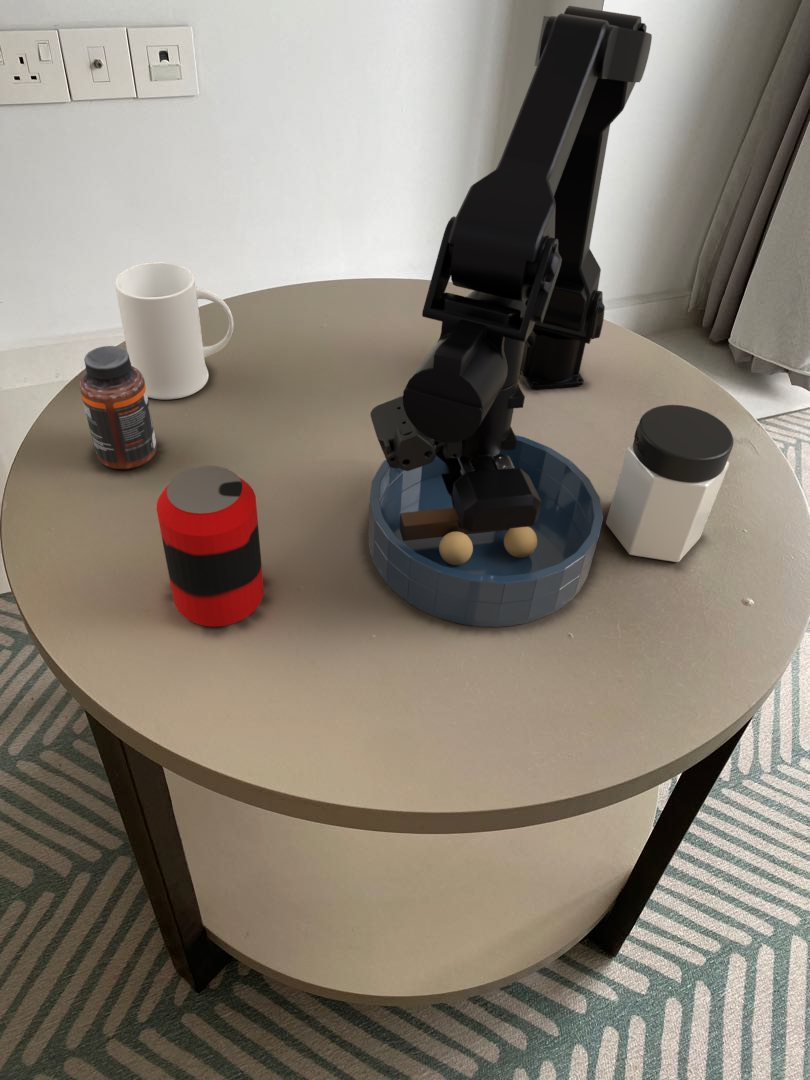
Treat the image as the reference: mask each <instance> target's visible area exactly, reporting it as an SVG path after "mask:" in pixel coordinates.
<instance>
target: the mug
mask: <svg viewBox="0 0 810 1080" xmlns="http://www.w3.org/2000/svg"><path fill="white" fill-rule="evenodd" d="M114 289H115V294H116V299H117V304H118V310H119V314H120V320H121V325H122V330H123V336H124V342H125V347H126V351H127V352H128V354H129V359H130V362H131V366H133V367H135V368H136V369H138V370H139V371H140V372H141V374H142V375H143V378H144V381H145V386H146V391H147V396H148V399H149V398H150V399H154V400H161V401H162V400H164V401H165V400H177V399H183V398H186V397H189V396H191V395H194V394H195V393H197V392H199V391H201V390H202V389H203V388H204V387H205V386H206V384H207V383H208V381H209V378H210V377H209V374H210V373H209V370H208V368H207V365H206V358H207V357H210V356H212V355H213V356H214V355H215V354H217V353H219V352H220V351H221V350H224V348H225V347H226V346H227V345H228V343H229V342H230V340H231V338H232V336H233V333H234V327H235V325H234V317H233V314H232V311H231V309H230V307H229V306H228V304H227V303H226V302H225V301H224V300H223V299H222V298H221V297H220V296H218V294H216V293H214V292H212V291H210V290H207V289H204V288H201V287H198V286H197V285H196V278H195V275H194V273H193V272H192V271H191V270H190V269H189V268H187V267H185V266H182V265H180V264H177V263H171V262H162V261H161V262H160V261H157V262H156V261H154V262H146V263H145V262H144V263H140V264H136V265H133V266H132V265H131V266H130V267H128V268H126V269H124V270H122V271H120V272H119V274H117V275H116V276H115V279H114ZM198 300H207V301H210V302H213V303H215V304H216V305H218V306H219V307H220V308H221V309H222V310H223V311H224V313H225V314H226V316H227V319H228V329H227V332H226V334H225V336H224V337H223V338H222V339H221V340H220V341H219V342H216V343H215V344H213V345H208V346H207V345H205V346H204V344H203V336H202V327H201V320H200V311H199V302H198Z"/></svg>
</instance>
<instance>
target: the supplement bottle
mask: <svg viewBox="0 0 810 1080" xmlns="http://www.w3.org/2000/svg"><path fill="white" fill-rule="evenodd" d="M83 360H84V366H85V373H84V374H83V375H82V376H81V379H80V382H79V390H80V391H79V392H80V395H81V400H82V404H83V409H84V411H85V416H86V419H87V423H88V428H89V432H90V436H91V439H92V444H93V447H94V452H95V454H96V457H97V459H98V461H99V462H100V463H101V464H102V465H104V466H105V467H108V468H111V469H115V470H130V469H131V470H132V469H136V468H138V467H140V466H143V465H145V464H147V463H148V462H150V461H151V460H152V459H153V457H154V456H155V454H156V452H157V448H158V447H157V439H156V435H155V429H154V424H153V423H154V422H153V418H152V413H151V412H152V411H151V407H150V402H149V401H150V400H149V397H148V396H147V391H146V386H145V381H144V378H143V375H142V374H141V372H140V371H139V370H138V369H136V368H135V367H133V366H131V362H130V359H129V354H128V352H127V349H126V348H123V347H120V346H116V345H104V346H99V347H95V348H94V349H91V350H89V351H88V352H87V353H86V354H85V356H84V359H83Z"/></svg>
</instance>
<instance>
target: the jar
mask: <svg viewBox="0 0 810 1080" xmlns="http://www.w3.org/2000/svg"><path fill="white" fill-rule="evenodd" d="M633 437H634V439H633V442H632V443H631V444H630V445H628V447H627V448H626V451H625V454H624V457H623V461H622V465H621V467H620V472H619V475H618V479H617V482H616V485H615V490H614V492H613V497H612V500H611V503H610V506H609V510H608V513H607V517H606V520H605V525H606V526H607V527H608V529H609V530H610V531H611V533H612V534H613V535H614V536H615V538H616V539H617V540H618V542H619V543H620V544H621V546H622V547H623V549H624V550H625V551H626V553H627V554H628V555H630V556H634V557H643V558H648V559H654V560H660V561H666V562H671V563H679V562H680V561H681V560H682V559H683V558H684V557H685V555H687V553H688V552H689V551H690V550H691V549H692V548H693V547H694V545H696V544H697V543H698V541H699V540H700V538H701V537H702V534H703V531H704V530H705V527H706V524H707V521H708V519H709V517H710V514H711V511H712V510H713V506H714V504H715V501H716V498H717V496H718V493H719V491H720V489H721V486H722V484H723V482H724V478H725V476H726V473H727V471H728V469H729V466H730V462H729V461H728V460H729V457H730V455H731V452H732V450H733V447H734V436H733V434H732V431H731V430H730V428H729V427H728V426H727V425H726V424H725V423H724V422H723V421H722V420H721V419H720V418H719V417H717V416H715V415H713V414H711V413H709V412H707V411H705V410H702V409H699V408H696V407H694V406H693V407H692V406H688V405H680V404H666V405H665V404H664V405H659V406H655V407H652V408H651V409H649V410H647V411H646V412H645V413H643V414H642V416H641V417H640V419H639V422H638V423H637V426H636V428H635V431H634V435H633Z"/></svg>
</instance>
